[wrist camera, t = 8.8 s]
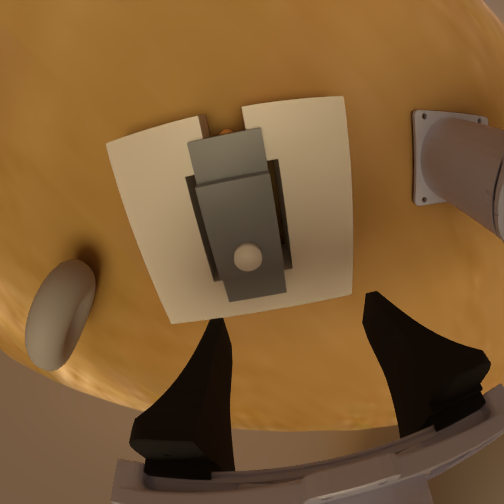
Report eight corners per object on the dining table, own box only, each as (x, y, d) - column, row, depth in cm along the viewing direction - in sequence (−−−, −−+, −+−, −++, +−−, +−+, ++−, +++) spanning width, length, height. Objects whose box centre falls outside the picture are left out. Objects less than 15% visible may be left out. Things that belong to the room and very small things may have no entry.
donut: (78, 231, 20) (12, 304, 12) (111, 248, 21) (56, 331, 13) (64, 307, 24) (24, 378, 16) (91, 321, 25) (56, 397, 17)
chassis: (325, 97, 17) (343, 95, 13) (338, 268, 23) (351, 294, 20) (127, 136, 17) (105, 143, 14) (178, 295, 24) (171, 323, 21)
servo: (255, 122, 17) (262, 127, 13) (278, 260, 23) (290, 305, 18) (197, 134, 18) (181, 144, 13) (230, 269, 23) (228, 315, 18)
